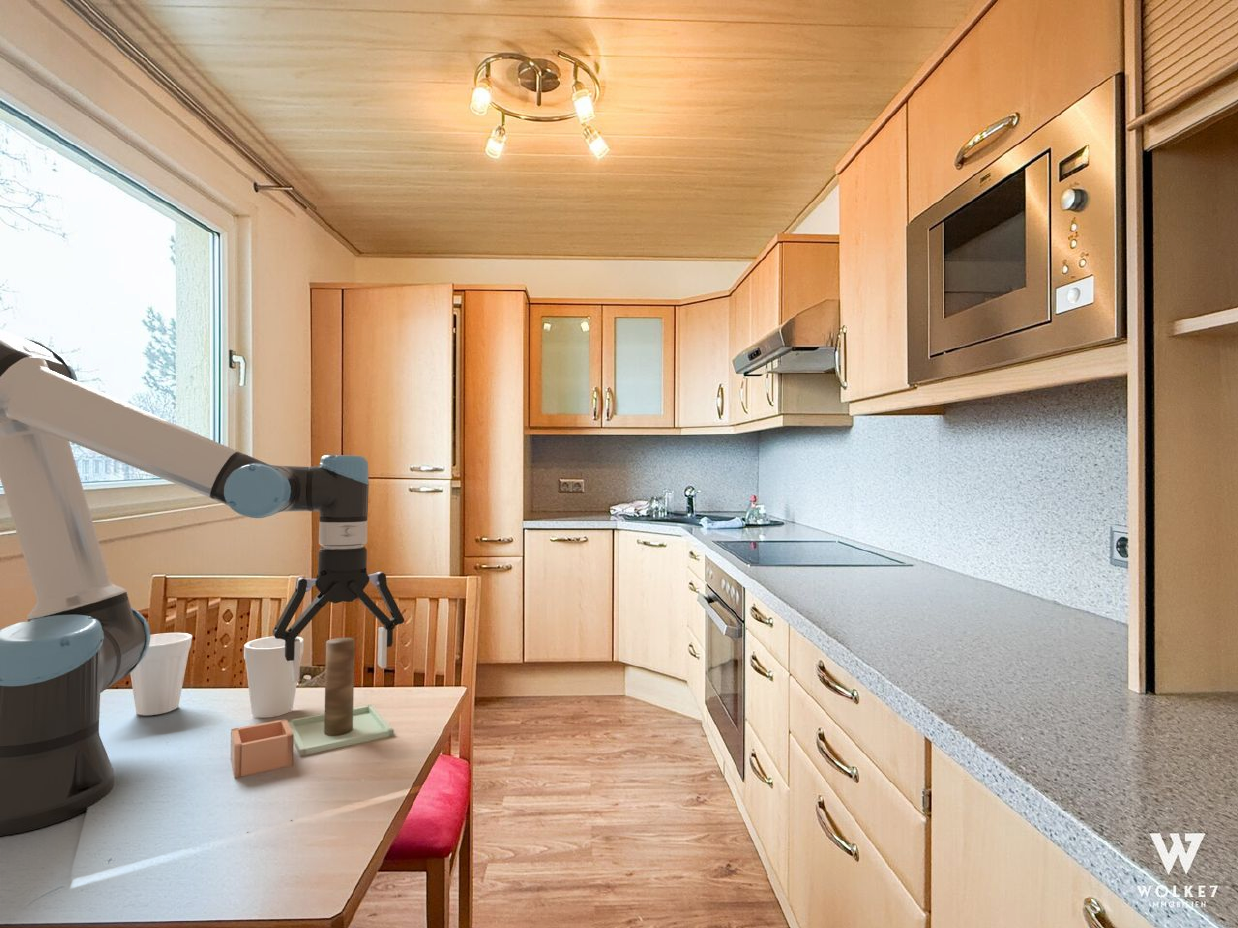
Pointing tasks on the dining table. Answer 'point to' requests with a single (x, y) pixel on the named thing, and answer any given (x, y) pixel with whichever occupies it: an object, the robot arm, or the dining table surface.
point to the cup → (161, 673)
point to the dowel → (339, 686)
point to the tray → (364, 729)
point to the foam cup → (269, 677)
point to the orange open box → (261, 748)
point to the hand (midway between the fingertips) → (340, 672)
